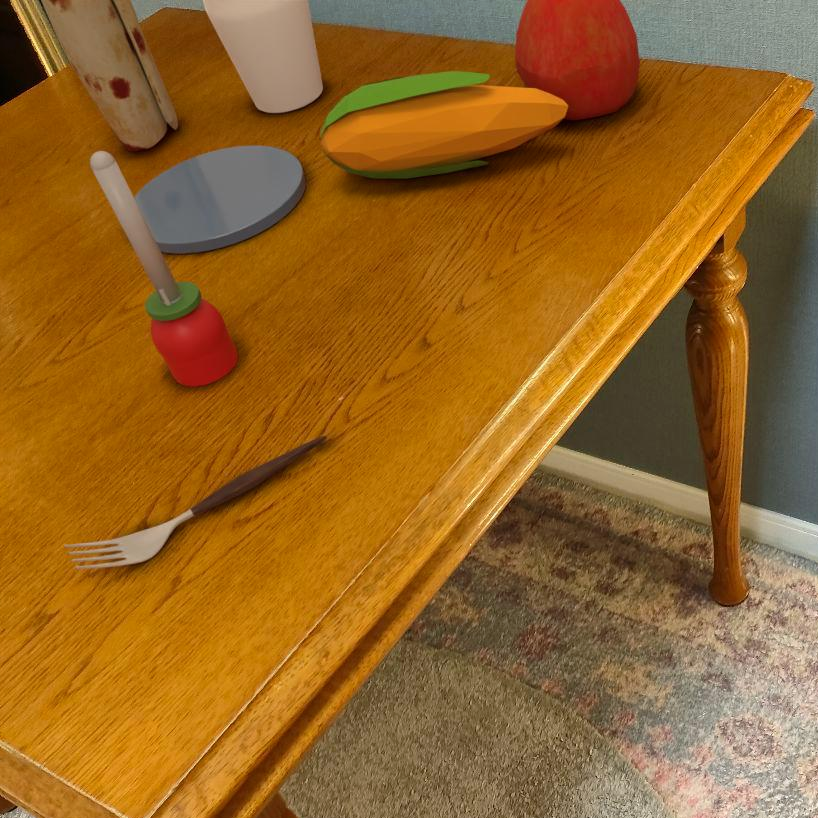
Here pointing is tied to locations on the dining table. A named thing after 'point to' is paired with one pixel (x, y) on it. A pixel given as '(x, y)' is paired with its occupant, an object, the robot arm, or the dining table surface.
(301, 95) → the cup
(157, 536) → the fork
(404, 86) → the corn
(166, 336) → the strawberry fork
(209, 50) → the dining table surface
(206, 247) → the plate
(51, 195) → the dining table surface
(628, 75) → the apple
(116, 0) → the food model
